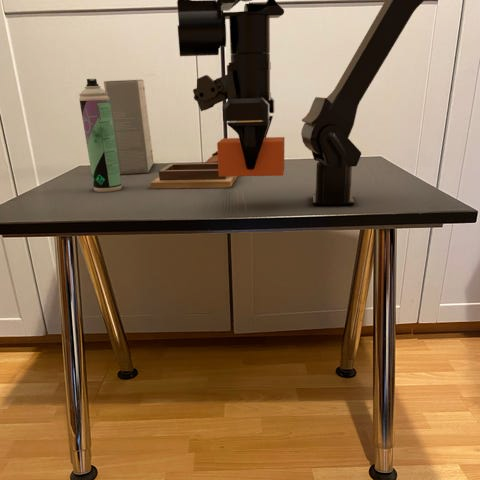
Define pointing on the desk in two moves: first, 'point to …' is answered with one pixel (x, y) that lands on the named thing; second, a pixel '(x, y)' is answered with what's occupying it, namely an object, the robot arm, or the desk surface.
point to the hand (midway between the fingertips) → (252, 166)
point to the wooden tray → (192, 176)
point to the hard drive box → (130, 125)
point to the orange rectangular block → (267, 161)
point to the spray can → (100, 137)
